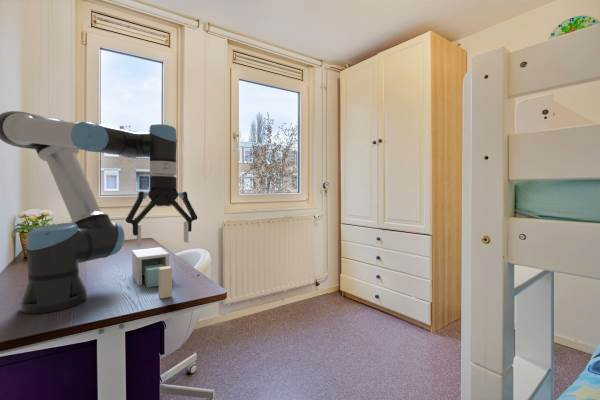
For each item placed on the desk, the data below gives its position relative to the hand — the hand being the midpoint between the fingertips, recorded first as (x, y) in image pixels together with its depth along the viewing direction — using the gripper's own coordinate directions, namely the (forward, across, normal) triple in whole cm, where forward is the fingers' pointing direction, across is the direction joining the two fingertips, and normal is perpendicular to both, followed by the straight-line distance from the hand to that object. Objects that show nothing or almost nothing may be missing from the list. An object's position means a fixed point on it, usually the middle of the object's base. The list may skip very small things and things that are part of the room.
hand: (163, 244), depth 92 cm
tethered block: (+17, 0, +8) cm, 18 cm away
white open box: (+17, 0, +24) cm, 30 cm away
